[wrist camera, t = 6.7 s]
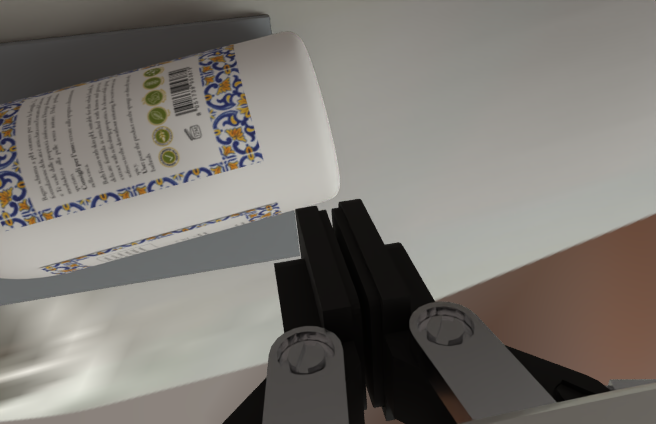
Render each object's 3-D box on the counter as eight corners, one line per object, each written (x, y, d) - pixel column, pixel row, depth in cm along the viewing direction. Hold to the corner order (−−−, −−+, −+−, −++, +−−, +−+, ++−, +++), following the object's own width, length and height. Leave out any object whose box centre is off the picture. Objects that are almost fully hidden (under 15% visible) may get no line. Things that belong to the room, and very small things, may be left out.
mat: (268, 14, 22) (269, 17, 21) (298, 248, 28) (299, 255, 28) (-159, 60, 20) (-173, 64, 19) (-25, 300, 26) (-32, 310, 26)
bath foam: (288, -2, 20) (-208, 125, 19) (325, 83, 15) (-335, 259, 14) (317, 133, 25) (-76, 239, 24) (352, 230, 20) (-137, 367, 19)
